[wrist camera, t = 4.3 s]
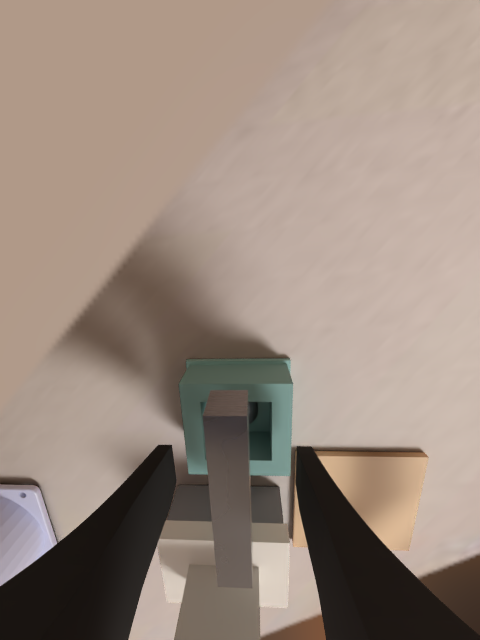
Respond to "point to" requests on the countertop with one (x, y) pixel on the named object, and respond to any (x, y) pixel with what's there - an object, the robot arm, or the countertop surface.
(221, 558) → the t key
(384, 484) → the cork mat
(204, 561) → the cover
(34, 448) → the countertop surface
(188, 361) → the key socket
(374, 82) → the countertop surface
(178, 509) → the box
